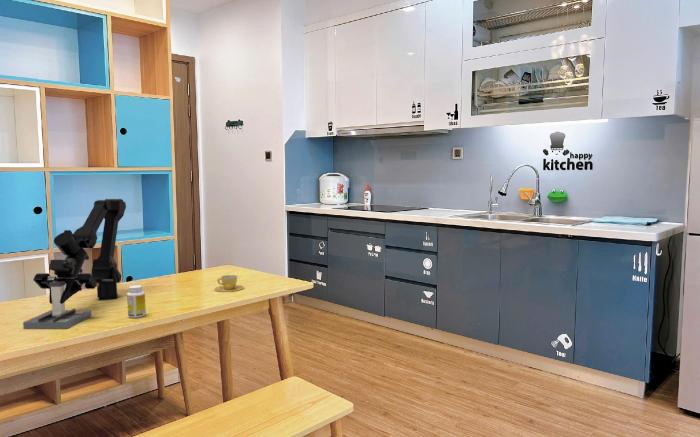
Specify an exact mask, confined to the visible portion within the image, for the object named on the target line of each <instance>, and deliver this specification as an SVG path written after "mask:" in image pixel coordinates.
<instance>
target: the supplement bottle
mask: <svg viewBox="0 0 700 437" xmlns="http://www.w3.org/2000/svg"><path fill="white" fill-rule="evenodd" d="M126 300H127V315H128V318H131V319H138V318H143V317H145V316H146V313H147V311H146V293H145V291H144V290H143V286H142V285H140V284H138V285H137V284H136V285H135V284H134V285H131V286H129V287H128V292H127V293H126Z"/></svg>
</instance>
